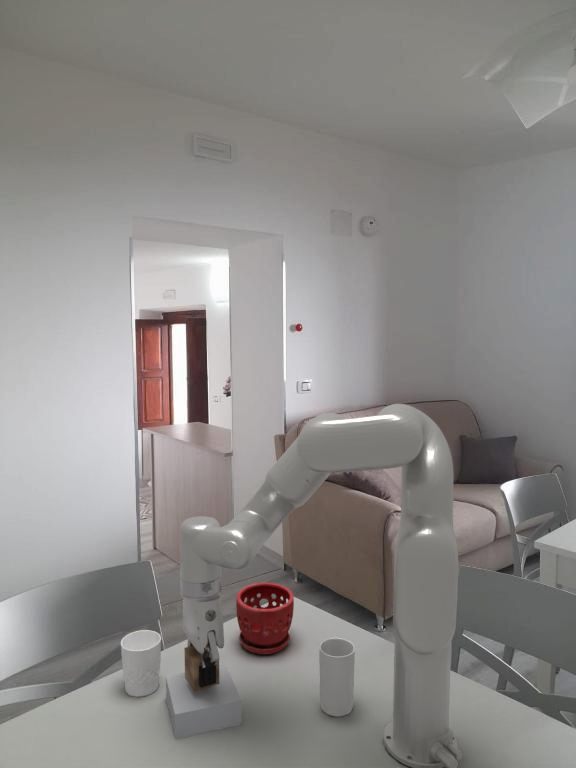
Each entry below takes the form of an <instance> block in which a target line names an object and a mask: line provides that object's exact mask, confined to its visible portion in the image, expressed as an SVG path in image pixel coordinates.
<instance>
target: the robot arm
mask: <svg viewBox="0 0 576 768" xmlns="http://www.w3.org/2000/svg"><path fill="white" fill-rule="evenodd" d="M396 468H401V485H400V486H401V489H400V490H401V501H400V502H401V503H400V505H401V506H400V519H399V520H400V521H399V525H398V530H397V535H396V540H395V550H394V571H393V572H394V573H393V574H394V575H393V576H394V578H393V584H394V585H393V604H392V605H393V611H392V613H393V614H392V624H393V628H394V650H393V651H394V656H393V691H392V693H393V694H392V695H393V697H392V698H393V699H392V701H393V702H392V719H391V720H390V721H389V722H388V723H387V724H386V725H385V728H384V730H383V742H384V743H383V744H384V747H385V748H386V750H387V753H389V754H390V756H392V757H393V758H394V759H395V760H397V761H398V762H399V763H402V764H403V765H405V766H407V767H409V768H458V766H459V760H461V759H462V758H463V755H464V753H463V751H461V750H460V748H458V746H459V745H458V740H457V738H456V735H455V734H454V731H453V730H452V729H451V728H450V726H449V725H450V695H451V691H450V690H451V688H450V687H451V665H452V640H453V637H454V635H455V632H456V627H457V626H456V624H457V623H456V622H457V613H458V612H457V609H458V607H457V605H458V588H459V587H458V586H459V585H458V584H459V551H458V545H457V538H456V533H455V527H454V464H453V458H452V453H451V450H450V446H449V444H448V441H447V439H446V437H445V435H444V433H443V431H442V430H441V428H440V427H439V426H438V425H437V423H436V422H435V421H434V420H433V419H432V418H431V417H429V415H427V414H426V413H425V412H423V411H421V410H420V409H417V408H416V407H414V406H412V405H409V404H405V403H393V404H392V403H391V404H389V405H387V406H385V407H383V408H382V409H381V410H380V411H379V412H378V413H377V414H376V415H370V416H361V417H352V418H346V417H344V416H342V415H340V414H338V413H335V412H323V413H320V414H317V416H315V417H314V418H313V419H312V420H310V421H309V422H308V423H307V424H305V425H304V427H303V428H302V429H301V431H300V432H299V434H298V435H297V437H296V438H295V440H294V441H293V442H292V443H291V444H290V446H289V447H288V448H287V449H286V450H285V451H284V452H283V454H282V455H281V456H280V457H279V459H278V460H277V461H276V462H275V463H274V464H273V465H272V467H271V468H270V469H269V470H268V472H267V473H266V474H265V475H266V476H265V479H264V481H263V483H262V484H261V486H260V487H259V488H258V489H257V491H256V492H255V494H254V495H253V496H252V497H251V498H250V499H249V501H248V502H247V503H246V504H245V506H244V507H243V508H242V509H241V510H240V511H239V512H238V513H237V514H236V515H235V516H234V518H232V519H231V520H230V521H229V522H228V523H227V524H225V525H223V526H221V524H220V522H219V521H218V520H217V518H215V517H212V516H205V515H204V516H203V515H200V516H199V515H198V516H192V517H188V518H186V519H185V520H183V521H182V522H181V524H180V526H179V531H178V532H179V535H178V536H179V579H180V583H179V584H180V591H179V592H180V596H181V597H182V627H183V632H184V634H185V636H186V638H187V647H190V646H194V647H195V648H196V650H197V651H198V652H199V654H200V663H201V666H199V686H200V687H201V688H203V687H206V686H209V685H212V684H215V683H216V665H217V661H218V660H219V661H220V652H219V649H224V647H225V633H224V618H223V617H224V616H223V615H224V614H223V608H222V602H221V596H220V594H221V593H222V568H226V569H230V570H242V569H244V568H245V567H247V566H249V564H251V562H252V561H253V560H254V559H255V557H256V556H257V554H258V553H259V551H260V550H261V548H262V547H263V546H264V545H265V543H266V542H267V541H268V539H269V538H270V537H271V536H272V534H273V533H274V532H275V531H276V530H277V529H278V527H279V526H280V525H281V524H282V523H283V522H284V521H285V520H286V519H287V518H288V516H289V515H290V514H291V513H292V512H293V511H294V510H295V509H297V508H300V507H302V506H303V505H305V503H306V502H307V501H309V499H310V498H311V497H312V496H313V495H314V493H315V492H317V490H318V489H319V488H320V487H321V486H322V485H323V483H324V482H325V481H326V480H327V479H328V478H329V476H330V475H331V474H337V473H353V472H363V471H364V472H366V471H367V472H368V471H379V470H389V469H396ZM206 645H208V647H207V648H205V647H206ZM218 648H219V649H218ZM208 652H210V656H209V657H207V658H206V659H205V656H204V654H205V653H208Z"/></svg>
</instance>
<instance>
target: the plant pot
mask: <svg viewBox="0 0 576 768" xmlns="http://www.w3.org/2000/svg"><path fill="white" fill-rule="evenodd" d="M258 594H260V596H258ZM272 595H275V598H274V597H273V596H272ZM281 597H282V598H281ZM245 599H246V601H245ZM252 599H253V601H252ZM235 600H236V601H235V602H236V604H235V605H236V608H235V609H236V618H237V619H236V620H237V624H238V627H239V630H240V633H239V634H238V635H239V636H238V638H239V642H240V644H241V645H242V647H243V648H244V649H245V650H247V651H249V652H250V653H254V654H259V655H270V654H275V653H277V652H280V651H282V650H283V649H285V647H287V645H288V644H289V642H290V633H289V631H290V629H291V625H292V621H293V617H294V608H295V607H294V606H295V605H294V603H295V602H294V601H295V599H294V593H293V592H292V590H290V589H289V588H288V587H286V586H284V585H281V584H278V583H272V582H260V583H252V584H249V585H247V586H245V587H243V588H240V590H239V591H238V593H237V595H236V599H235ZM262 600H266V601H267V602H268V603H267V606H264V607H263V606H261V603H260V602H261V601H262ZM273 603H275V605H274V604H273Z"/></svg>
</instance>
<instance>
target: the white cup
mask: <svg viewBox="0 0 576 768" xmlns="http://www.w3.org/2000/svg"><path fill="white" fill-rule="evenodd" d="M161 648H162V636H161V634H160V633H158V631H154V630H149V629H142V630H136V631H135V630H134V631H133V632H129V633H128V634H126V635H124V636H123V638H122V639H121V641H120V650H121V664H122V665H121V666H122V673H123V674H122V675H123V678H124V679H123V680H124V690H125V693H126V694H128V695H129V696H131V697H136V698H138V697H140V698H141V697H146V696H149V695H151V694H153V693H154V692H156V691H157V690H158V688H159V686H160V673H161V661H162V659H161V654H162V653H161V652H162V649H161Z"/></svg>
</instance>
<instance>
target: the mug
mask: <svg viewBox="0 0 576 768" xmlns="http://www.w3.org/2000/svg"><path fill="white" fill-rule="evenodd" d="M318 650H319V654H318V656H319V704H320V708H321V710H322V711H323V712H324V713H325V714H327V715H329V716H332V717H343V716H346V715H349V714H350V713H351V712H352V710H353V708H354V688H355V686H354V685H355V663H356V662H355V655H356V652H355V651H356V647H355V645H354V643H353V642H351V641H350V640H348V639H345V638H341V637H338V636H337V637H331V638H326V639H325V640H323V641H321V643H319V649H318Z"/></svg>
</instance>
